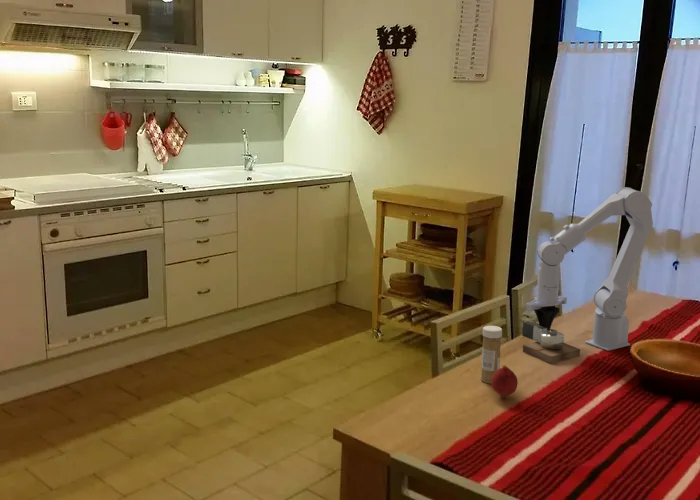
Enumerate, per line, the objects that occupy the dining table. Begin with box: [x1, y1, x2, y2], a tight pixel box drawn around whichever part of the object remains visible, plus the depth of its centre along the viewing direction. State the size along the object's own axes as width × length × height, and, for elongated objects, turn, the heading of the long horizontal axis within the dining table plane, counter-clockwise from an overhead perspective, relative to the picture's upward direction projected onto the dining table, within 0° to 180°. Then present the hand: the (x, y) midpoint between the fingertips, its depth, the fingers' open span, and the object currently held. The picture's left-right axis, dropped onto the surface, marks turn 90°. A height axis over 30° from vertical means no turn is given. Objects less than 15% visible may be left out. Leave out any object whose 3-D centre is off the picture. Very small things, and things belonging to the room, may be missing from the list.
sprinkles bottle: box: [480, 325, 503, 385], centre depth 167 cm, size 5×5×13 cm
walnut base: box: [522, 341, 581, 365], centre depth 187 cm, size 11×10×2 cm
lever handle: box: [521, 320, 565, 349], centre depth 189 cm, size 13×6×4 cm, turn 31°
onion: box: [490, 363, 518, 399], centre depth 158 cm, size 6×6×8 cm
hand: (544, 331), depth 195 cm, fingers closed
